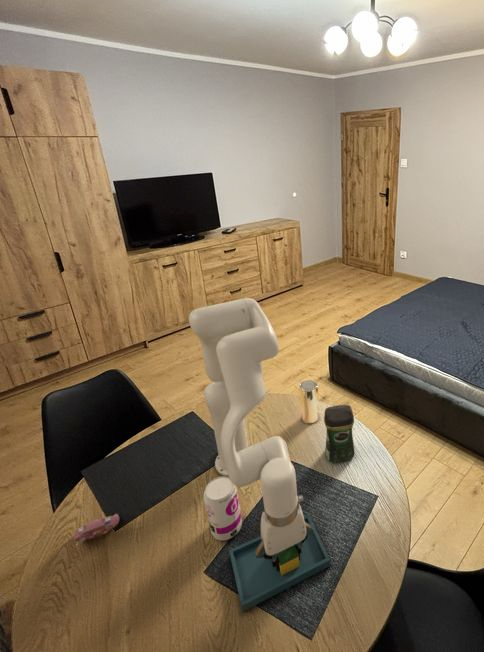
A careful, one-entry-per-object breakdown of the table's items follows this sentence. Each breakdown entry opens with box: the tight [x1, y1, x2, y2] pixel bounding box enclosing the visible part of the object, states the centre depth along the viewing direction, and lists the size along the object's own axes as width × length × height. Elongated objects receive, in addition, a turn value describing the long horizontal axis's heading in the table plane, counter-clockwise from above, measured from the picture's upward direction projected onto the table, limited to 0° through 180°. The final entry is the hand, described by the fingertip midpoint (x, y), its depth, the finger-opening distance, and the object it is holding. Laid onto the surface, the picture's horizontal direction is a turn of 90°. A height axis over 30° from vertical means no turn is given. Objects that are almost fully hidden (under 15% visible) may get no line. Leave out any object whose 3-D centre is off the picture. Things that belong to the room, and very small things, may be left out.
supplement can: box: [203, 475, 243, 542], centre depth 97 cm, size 8×8×15 cm
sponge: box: [277, 545, 299, 575], centre depth 90 cm, size 7×5×5 cm, turn 27°
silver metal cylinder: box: [298, 379, 319, 424], centre depth 137 cm, size 7×7×15 cm
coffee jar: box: [323, 404, 355, 463], centre depth 120 cm, size 10×8×19 cm
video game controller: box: [73, 513, 120, 543], centre depth 97 cm, size 10×5×7 cm, turn 118°
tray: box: [228, 514, 331, 613], centre depth 91 cm, size 14×22×2 cm, turn 117°
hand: (286, 559), depth 90 cm, fingers closed on sponge, 4 cm apart
